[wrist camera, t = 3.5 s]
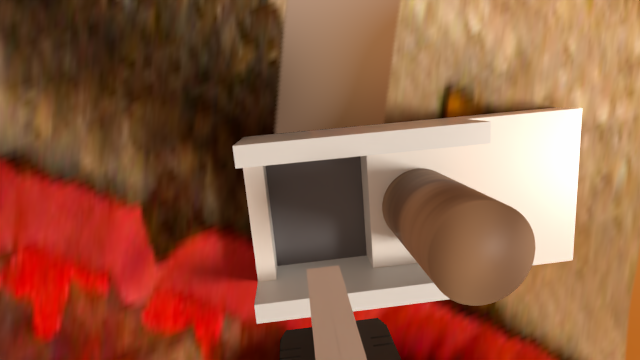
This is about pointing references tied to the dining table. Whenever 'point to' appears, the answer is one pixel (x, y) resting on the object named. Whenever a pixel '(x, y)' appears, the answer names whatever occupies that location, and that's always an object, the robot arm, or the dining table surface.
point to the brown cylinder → (459, 236)
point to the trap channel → (368, 192)
